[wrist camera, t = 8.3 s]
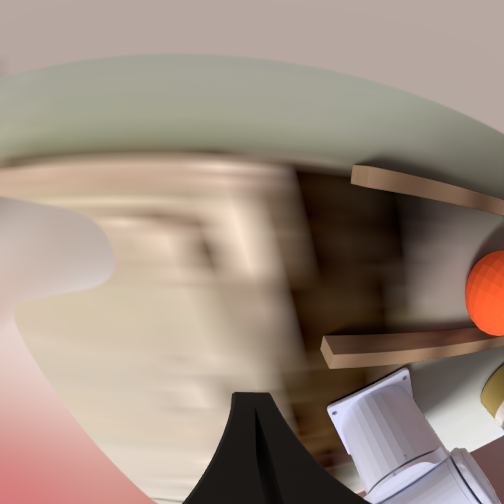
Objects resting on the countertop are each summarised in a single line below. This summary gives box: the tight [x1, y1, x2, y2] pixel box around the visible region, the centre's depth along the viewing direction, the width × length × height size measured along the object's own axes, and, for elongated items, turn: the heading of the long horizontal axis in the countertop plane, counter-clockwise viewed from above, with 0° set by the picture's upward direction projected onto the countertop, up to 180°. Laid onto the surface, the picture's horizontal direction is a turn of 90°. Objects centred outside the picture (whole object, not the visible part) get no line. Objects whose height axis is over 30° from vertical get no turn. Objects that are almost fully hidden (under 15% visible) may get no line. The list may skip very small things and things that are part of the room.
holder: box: [321, 165, 504, 369], centre depth 20 cm, size 21×13×2 cm, turn 85°
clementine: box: [465, 250, 504, 336], centre depth 18 cm, size 8×7×7 cm
